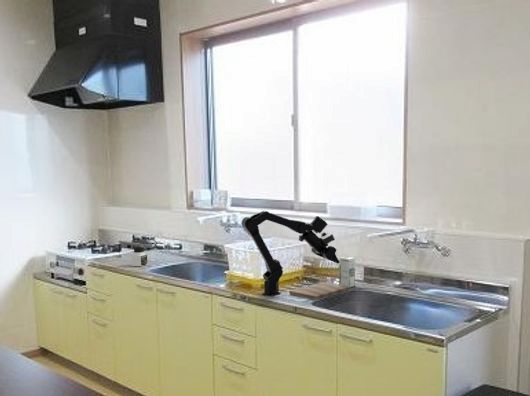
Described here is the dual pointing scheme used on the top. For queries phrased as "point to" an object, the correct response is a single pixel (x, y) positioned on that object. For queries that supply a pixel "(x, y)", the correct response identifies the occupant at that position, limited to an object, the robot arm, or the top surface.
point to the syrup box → (347, 272)
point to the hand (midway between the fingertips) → (334, 261)
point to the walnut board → (318, 290)
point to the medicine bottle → (139, 257)
